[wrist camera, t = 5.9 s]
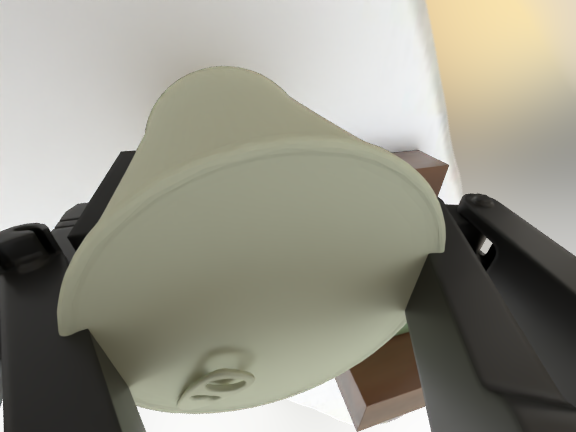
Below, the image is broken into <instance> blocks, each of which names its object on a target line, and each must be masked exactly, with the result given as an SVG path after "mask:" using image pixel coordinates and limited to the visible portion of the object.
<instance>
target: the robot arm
mask: <svg viewBox="0 0 576 432" xmlns="http://www.w3.org/2000/svg"><path fill="white" fill-rule="evenodd" d="M136 151H137V150H136ZM136 151H124V152H120V154H119V156H118V157H117V159H116V160H115V162H114V163H113V165H112V167H111V168H110V170H109V171H108V173H107V174H106V176H105V178H104V179H103V181H102V182H101V184H100V186H99V187H98V189H97V190H96V192H95V193H94V195H93V197H92V198H91V200H90V201H89V203H81V204H77V205H75V206H74V207H72V208H71V209H70V210H68V211H67V212H66V213H65V214H64V215H63V217H62V218H61V219H60V222H58V224H57V225H56V226H55V229H53V230H52V232H51V231H50V230H49V228H48V227H47V226H46V225H45V224H40V223H30V224H23V225H19V226H14V227H11V228H9V229H6V230H3V231H1V232H0V406H1V403H2V399H3V414H4V415H3V417H4V432H146V431H145V428H144V425H143V423H142V420H141V418H140V415H139V412H138V410H137V407H136V405H135V402H134V399H133V397H132V394H131V392H130V389H129V387H128V385H127V384H126V382H125V381H124V380H123V378H122V377H121V375H120V374H119V372H118V371H117V369H116V368H115V367H114V365H113V364H112V362H111V361H110V359H109V358H108V356H107V355H106V354H105V352H104V351H103V349H102V348H101V346H100V345H99V344H98V342H97V341H96V339H95V338H94V336H93V335H92V334H91V332H90V331H89V329H84V330H81V331H78V332H76V333H74V334H72V335H69V336H61V335H59V332H58V320H57V307H58V300H59V294H60V289H61V285H62V281H63V278H64V275H65V273H66V270H67V268H68V266H69V264H70V262H71V260H72V258H73V255H74V254H75V252H76V251H77V249H78V248H79V246H80V245H81V243H82V242H83V240H84V238H85V237H86V236H87V234H88V233H89V232H90V231H91V230H92V228H93V227H94V226H95V225H96V224H97V223H98V221H99V220H100V218H101V216H102V214H103V213H104V211H105V209H106V207H107V205H108V203H109V202H110V200H111V198H112V196H113V194H114V192H115V191H116V189H117V187H118V185H119V183H120V181H121V180H122V178H123V176H124V174H125V172H126V170H127V168H128V166H129V165H130V163H131V161H132V159H133V157H134V155H135V153H136ZM437 199H438V201H439V203H440V205H441V209H442V213H443V216H444V221H445V228H446V241H445V250H444V252H443V253H429V254H428V256H427V258H426V261H425V263H424V265H423V268H422V270H421V273H420V275H419V277H418V280H417V282H416V284H415V287H414V289H413V292H412V294H411V296H410V299H409V301H408V304H407V306H406V309H405V315H406V320H407V324H408V329H409V333H410V338H411V342H412V347H413V351H414V356H415V360H416V365H417V369H418V374H419V378H420V382H421V387H422V391H423V396H424V400H425V405H426V409H427V413H428V418H429V423H430V427H431V432H576V256H574V255H573V254H571V253H570V252H568V251H567V250H566V249H564V248H563V247H562V246H560V245H559V244H557V243H556V242H554V241H553V240H552V239H550V238H549V237H548V236H546V235H545V234H543V233H542V232H540V231H539V230H537V229H536V228H535V227H533V226H532V225H531V224H529V223H528V222H526V221H525V220H523V219H522V218H521V217H519V216H518V215H517V214H515V213H513V212H512V211H511V210H509V209H508V208H507V207H505V206H504V205H502V204H501V203H499V202H498V201H496V200H495V199H493V198H490V197H488V196H487V195H482V194H465V195H464V196H463V197H462V199H461V201H460V203H459V205H447V204H445V203H444V202H443V201H442V200H441V199H440V198H439V197H437ZM486 238H488V239H489V240H490V241H491V242H492V243H493V244H492V245H491V247H490V249H489V251H488V252H487V253H486V254H484V253H483V252H482V251H480V249H481V247H482V245H483V243H484V242H485V240H486Z"/></svg>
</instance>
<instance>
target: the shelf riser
mask: <svg viewBox="0 0 576 432" xmlns="http://www.w3.org/2000/svg"><path fill="white" fill-rule="evenodd" d="M393 154H394V155H396V156H398V157H399V158H401V159H402V160H404V161H405V162H407V163H408V164H410V165H411V166H412V167H413V168H414V169H415V170H416V171H418V172H419V173H420V174H421V175H422V176H423V177H424V178H425V180H426V181H427V182H428V183H429V185H430V186H431V188H432V189H433V191H434V193H435V194H436V196H437V197H438V194H439V191H440V188H441V186H442V183H443V180H444V178H445V175H446V172H447V169H448V167H449V165H448V164H446V163H444V162H442V161H440V160H438V159H436V158H434V157H431V156H429V155H427V154H425V153H423V152H421V151H419V150H416V151H406V152H396V153H393ZM335 380H336V382H337V384H338V387H339V389H340V392H341V394H342V397H343V399H344V401H345V404H346V406H347V409H348V411H349V414H350V416H351V419H352V421H353V423H354V426H355V428H356V431H357V432H358V431H361V430H363V429H366V428H369V427H371V426H374V425H377V424H379V423H382V422H385V421H387V420H390V419H393V418H395V417H398V416H401V415H403V414H406V413H408V412H411V411H414V410H417V409H419V408H422V407H425V406H426V405H425V400H424V396H423V391H422V387H421V382H420V378H419V374H418V369H417V365H416V360H415V356H414V351H413V347H412V342H411V338H410V333H409V329H408V324H407V323H406V324H405V325H404V326H403V327H402V328H401V329H400V330H399V331H398V332H397V333H396V334H395V335H394V336H393V337H392V338H391V339H390V340H389V341H388V342H386V343H385V344H384V345H383V346H382V347H380V348H379V349H378V350H377V351H376V352H374V353H373V354H372V355H370V356H369V357H367V358H366V359H365V360H363V361H362V362H360V363H358V364H357V365H355V366H354V367H352V368H350V369H349V370H347V371H345V372H344V373H342V374H341V375H339V376H337V377H335Z"/></svg>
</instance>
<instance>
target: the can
mask: <svg viewBox="0 0 576 432" xmlns="http://www.w3.org/2000/svg"><path fill="white" fill-rule="evenodd" d="M445 241H446V228H445V221H444V216H443V213H442V209H441V205H440V203H439V201H438V199H437V196H436V194H435V193H434V191H433V189H432V188H431V186H430V185H429V183H428V182H427V181H426V180H425V178H424V177H423V176H422V175H421V174H420V173H419V172H418V171H416V170H415V169H414V168H413V167H412V166H411V165H410V164H408V163H407V162H405V161H404V160H402V159H401V158H399V157H398V156H396V155H394V154H393V153H391V152H389V151H387V150H385V149H383V148H381V147H378V146H376V145H373V144H370V143H367V142H364V141H362V140H361V139H359V138H357V137H355V136H354V135H352V134H350V133H348V132H347V131H345V130H343V129H342V128H340V127H338V126H337V125H335V124H333V123H332V122H330V121H328V120H326V119H325V118H323V117H321V116H320V115H318V114H317V113H315V112H313V111H312V110H310V109H309V108H307V107H305V106H304V105H302V104H300V103H299V102H297V101H296V100H294V99H293V98H291V97H290V96H288V95H287V94H286V92H285V91H284V90H282V89H281V88H280V87H279V86H278V85H277V84H276V83H274V82H273V81H271V80H270V79H268V78H267V77H265V76H263V75H261V74H259V73H256V72H254V71H251V70H247V69H244V68H239V67H232V66H216V67H209V68H205V69H201V70H198V71H195V72H192V73H190V74H188V75H186V76H184V77H182V78H180V79H179V80H177V81H176V82H175V83H173V84H172V85H171V86H170V87H168V88H167V89H166V90H165V92H164V93H163V94H162V95H161V96H160V98H159V99H158V100H157V102H156V103H155V105H154V107H153V108H152V111H151V113H150V115H149V118H148V121H147V125H146V129H145V135H144V137H143V139H142V141H141V143H140V145H139V147H138V149H137V151H136V153H135V155H134V157H133V159H132V161H131V163H130V165H129V166H128V168H127V170H126V172H125V174H124V176H123V178H122V180H121V181H120V183H119V185H118V187H117V189H116V191H115V192H114V194H113V196H112V198H111V200H110V202H109V203H108V205H107V207H106V209H105V211H104V213H103V214H102V216H101V218H100V220H99V221H98V223H97V224H96V225H95V226H94V227H93V228H92V230H91V231H90V232H89V233H88V234H87V236H86V237H85V238H84V240H83V242H82V243H81V245H80V246H79V248H78V249H77V251H76V252H75V254H74V255H73V258H72V260H71V262H70V264H69V266H68V268H67V270H66V273H65V275H64V278H63V281H62V285H61V289H60V294H59V300H58V307H57V320H58V332H59V335H61V336H69V335H72V334H74V333H76V332H78V331H81V330H84V329H89V331H90V332H91V334H92V335H93V336H94V338H95V339H96V341H97V342H98V344H99V345H100V346H101V348H102V349H103V351H104V352H105V354H106V355H107V356H108V358H109V359H110V361H111V362H112V364H113V365H114V367H115V368H116V369H117V371H118V372H119V374H120V375H121V377H122V378H123V380H124V381H125V382H126V384H127V385H128V387H129V389H130V392H131V394H132V397H133V399H134V402H135V405H136V406H139V407H142V408H146V409H150V410H155V411H161V412H170V413H187V414H203V413H220V412H228V411H236V410H241V409H247V408H253V407H257V406H261V405H265V404H269V403H273V402H276V401H279V400H282V399H286V398H289V397H292V396H294V395H297V394H300V393H302V392H305V391H307V390H310V389H312V388H314V387H316V386H319V385H321V384H323V383H325V382H327V381H329V380H331V379H333V378H335V377H337V376H339V375H341V374H342V373H344V372H345V371H347V370H349V369H350V368H352V367H354V366H355V365H357V364H358V363H360V362H362V361H363V360H365V359H366V358H367V357H369V356H370V355H372V354H373V353H374V352H376V351H377V350H378V349H379V348H380V347H382V346H383V345H384V344H385V343H386V342H388V341H389V340H390V339H391V338H392V337H393V336H394V335H395V334H396V333H397V332H398V331H399V330H400V329H401V328H402V327H403V326H404V325H405V324H406V323H407V320H406V315H405V309H406V306H407V304H408V301H409V299H410V296H411V294H412V292H413V289H414V287H415V284H416V282H417V280H418V277H419V275H420V273H421V270H422V268H423V265H424V263H425V261H426V258H427V256H428V254H429V253H443V252H444V250H445Z"/></svg>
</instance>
